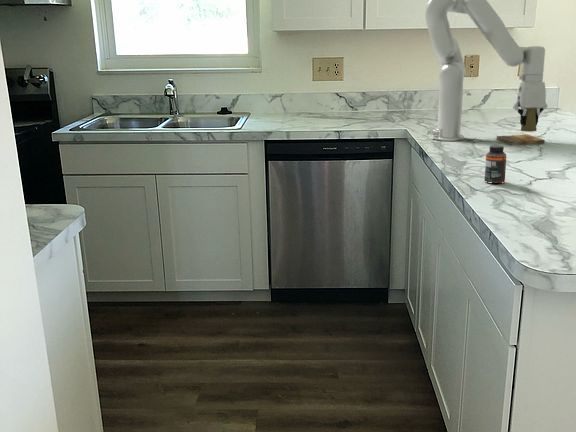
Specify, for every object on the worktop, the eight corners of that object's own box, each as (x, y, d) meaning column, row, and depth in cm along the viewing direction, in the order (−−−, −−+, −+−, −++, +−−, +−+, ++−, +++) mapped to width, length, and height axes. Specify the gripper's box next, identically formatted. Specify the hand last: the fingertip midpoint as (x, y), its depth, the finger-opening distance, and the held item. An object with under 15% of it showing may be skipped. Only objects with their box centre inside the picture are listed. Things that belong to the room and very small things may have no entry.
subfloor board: (510, 145, 247) (510, 141, 246) (496, 139, 259) (496, 135, 259) (544, 143, 248) (544, 139, 248) (528, 138, 260) (529, 134, 260)
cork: (526, 131, 249) (528, 104, 246) (517, 129, 254) (519, 102, 251) (539, 130, 250) (542, 103, 247) (530, 128, 256) (532, 101, 253)
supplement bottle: (500, 179, 194) (503, 143, 191) (507, 184, 189) (510, 147, 185) (481, 180, 194) (483, 144, 191) (487, 185, 188) (490, 147, 185)
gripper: (516, 80, 242) (513, 127, 247) (557, 78, 244) (553, 125, 249) (507, 78, 249) (504, 124, 255) (547, 77, 251) (543, 122, 256)
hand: (528, 124), depth 252 cm, fingers closed on cork, 4 cm apart
